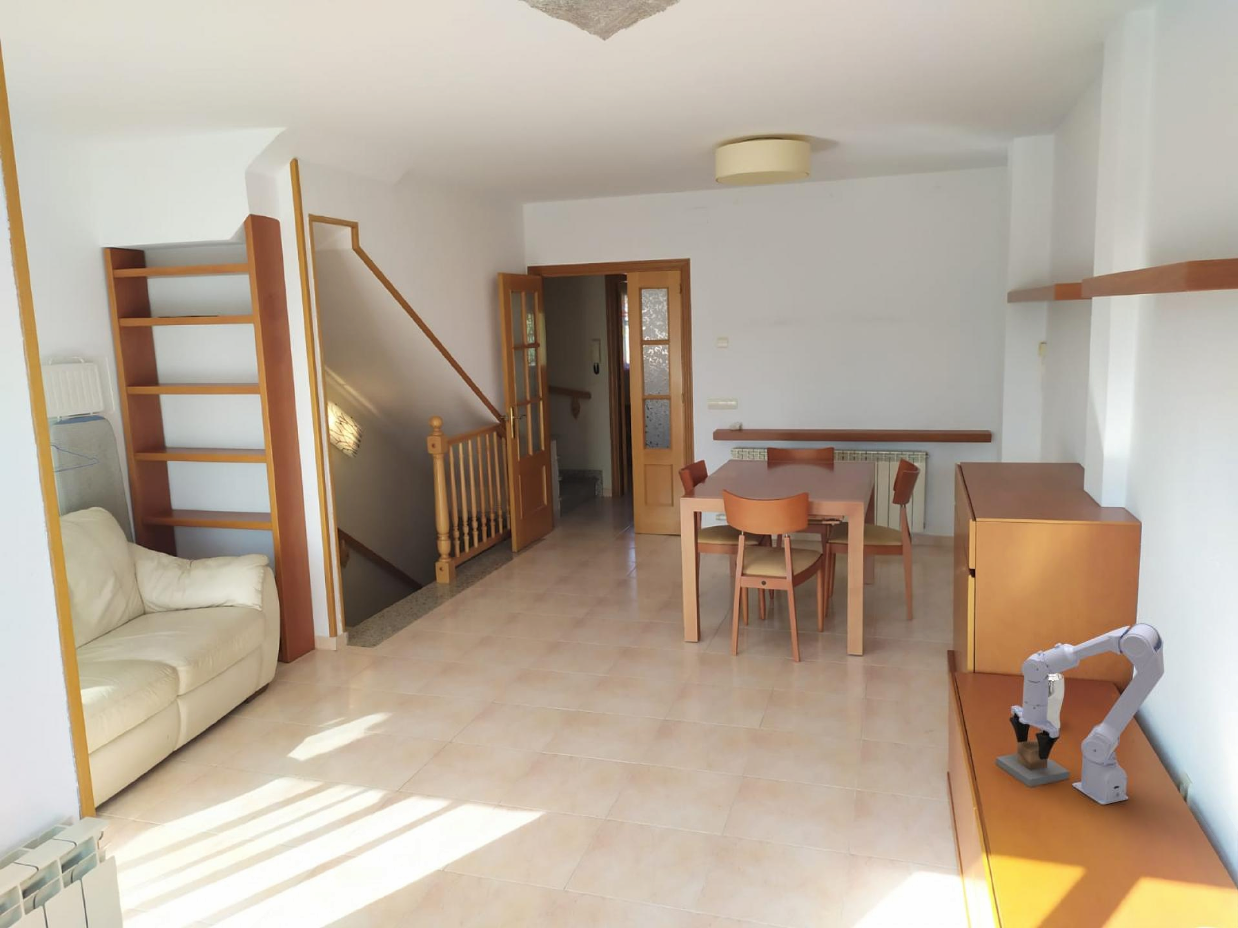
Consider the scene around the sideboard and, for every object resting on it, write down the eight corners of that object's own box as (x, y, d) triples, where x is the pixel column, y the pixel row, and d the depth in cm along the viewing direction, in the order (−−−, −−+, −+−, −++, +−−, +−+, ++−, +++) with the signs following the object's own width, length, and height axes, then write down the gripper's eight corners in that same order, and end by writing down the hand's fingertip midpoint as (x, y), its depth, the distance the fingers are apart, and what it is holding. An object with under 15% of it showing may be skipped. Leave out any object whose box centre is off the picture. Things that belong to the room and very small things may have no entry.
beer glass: (1059, 733, 246) (1062, 682, 244) (1032, 726, 250) (1034, 676, 248) (1064, 723, 252) (1067, 673, 249) (1037, 717, 256) (1040, 668, 253)
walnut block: (1047, 767, 225) (1048, 748, 224) (1029, 770, 224) (1030, 751, 223) (1033, 757, 230) (1034, 739, 229) (1016, 760, 229) (1017, 742, 228)
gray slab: (1068, 780, 223) (1069, 771, 223) (1029, 789, 220) (1029, 779, 219) (1034, 758, 234) (1034, 749, 234) (995, 766, 231) (996, 757, 231)
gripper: (1002, 692, 230) (1000, 740, 232) (1043, 715, 216) (1040, 767, 218) (1025, 688, 231) (1022, 736, 234) (1067, 711, 218) (1064, 762, 220)
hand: (1032, 751), depth 226 cm, fingers open, 7 cm apart
